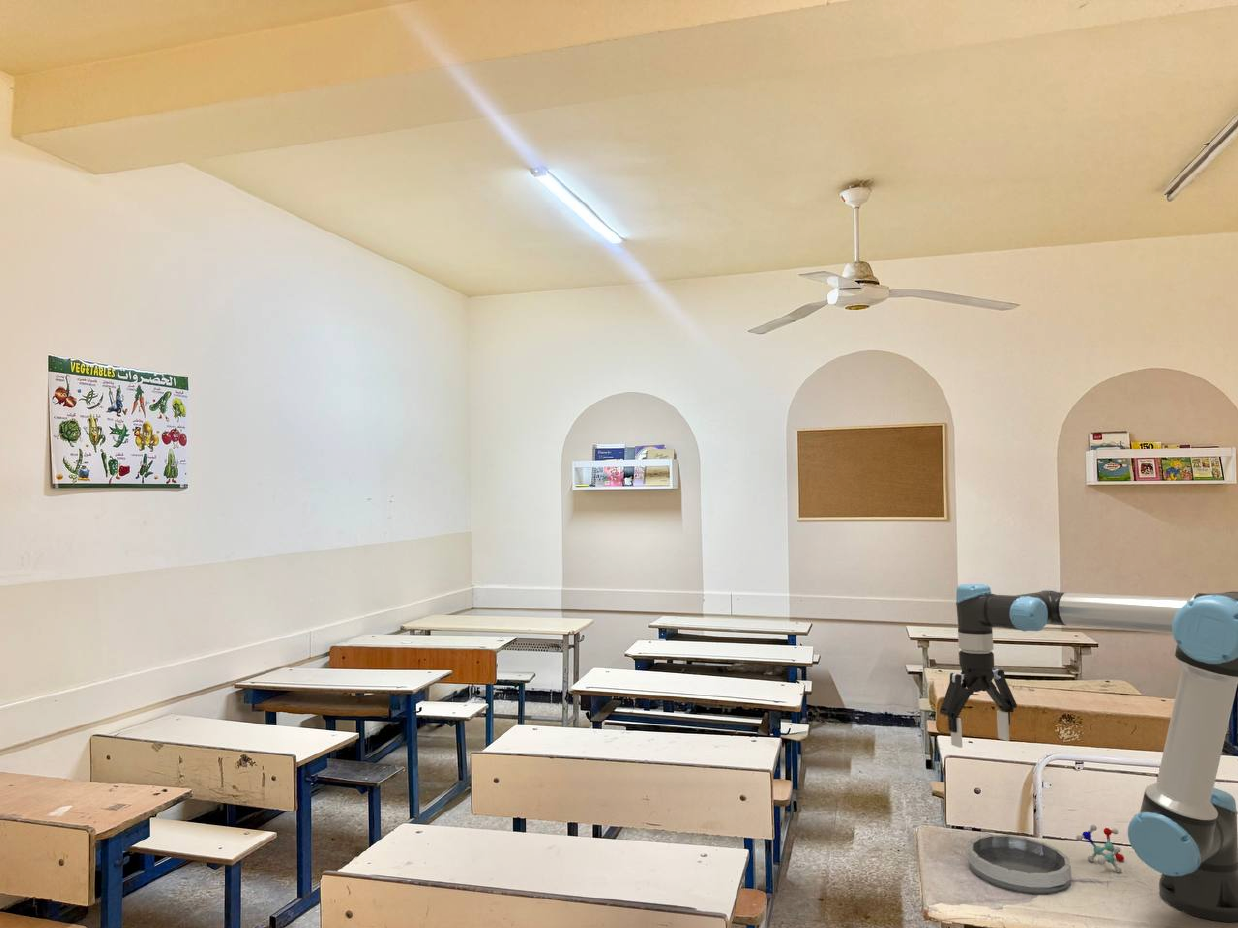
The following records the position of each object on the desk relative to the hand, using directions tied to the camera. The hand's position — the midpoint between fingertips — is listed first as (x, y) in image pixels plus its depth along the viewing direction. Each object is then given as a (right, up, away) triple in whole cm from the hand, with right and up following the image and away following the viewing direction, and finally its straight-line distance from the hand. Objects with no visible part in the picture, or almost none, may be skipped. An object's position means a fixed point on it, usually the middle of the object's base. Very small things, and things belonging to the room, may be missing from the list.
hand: (980, 742), depth 188 cm
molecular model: (+24, -25, -7) cm, 35 cm away
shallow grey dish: (+3, -25, -11) cm, 27 cm away
